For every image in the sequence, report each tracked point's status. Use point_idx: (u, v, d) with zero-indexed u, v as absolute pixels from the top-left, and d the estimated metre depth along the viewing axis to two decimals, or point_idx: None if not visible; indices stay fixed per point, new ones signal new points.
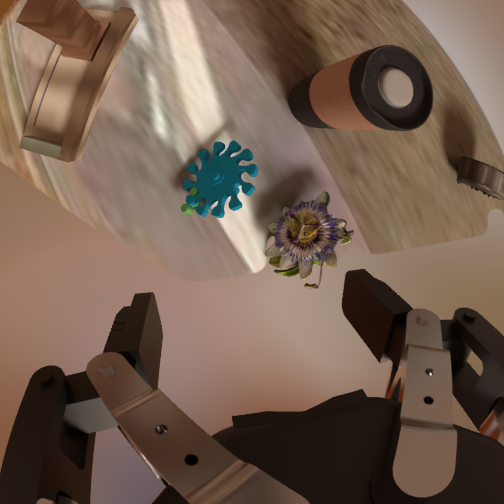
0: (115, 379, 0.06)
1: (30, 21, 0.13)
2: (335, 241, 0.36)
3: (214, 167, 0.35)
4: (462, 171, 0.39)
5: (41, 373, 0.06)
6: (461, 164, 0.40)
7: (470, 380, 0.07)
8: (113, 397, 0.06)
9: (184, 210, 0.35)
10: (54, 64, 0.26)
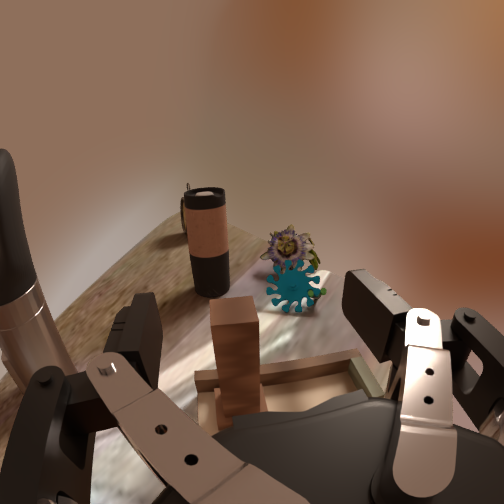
0: (116, 379, 0.06)
1: (254, 307, 0.25)
2: (281, 232, 0.65)
3: (289, 291, 0.52)
4: None
5: (41, 373, 0.06)
6: None
7: (470, 380, 0.07)
8: (113, 397, 0.06)
9: (324, 289, 0.51)
10: None
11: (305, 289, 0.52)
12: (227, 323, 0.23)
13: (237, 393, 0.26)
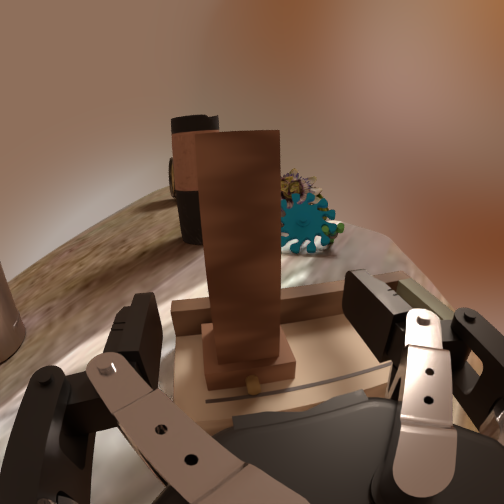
0: (116, 379, 0.06)
1: None
2: (283, 177, 0.55)
3: (298, 227, 0.42)
4: None
5: (41, 373, 0.06)
6: None
7: (470, 380, 0.07)
8: (113, 397, 0.06)
9: (342, 224, 0.41)
10: (319, 385, 0.17)
11: (318, 224, 0.42)
12: (223, 132, 0.12)
13: (239, 303, 0.16)
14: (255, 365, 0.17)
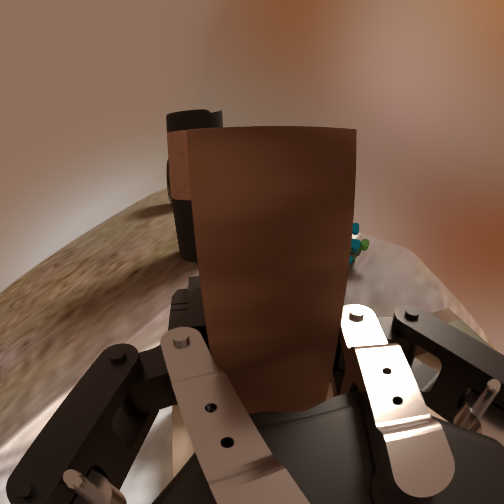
0: (186, 353, 0.07)
1: None
2: None
3: None
4: None
5: (114, 349, 0.07)
6: None
7: (424, 375, 0.08)
8: (197, 366, 0.07)
9: (366, 240, 0.35)
10: None
11: None
12: None
13: (267, 408, 0.09)
14: None
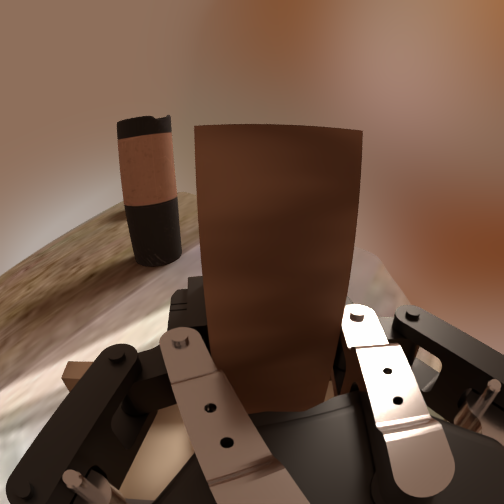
0: (185, 353, 0.07)
1: None
2: None
3: None
4: None
5: (113, 350, 0.07)
6: None
7: (425, 375, 0.08)
8: (196, 366, 0.07)
9: None
10: None
11: None
12: (256, 124, 0.06)
13: (265, 408, 0.09)
14: None
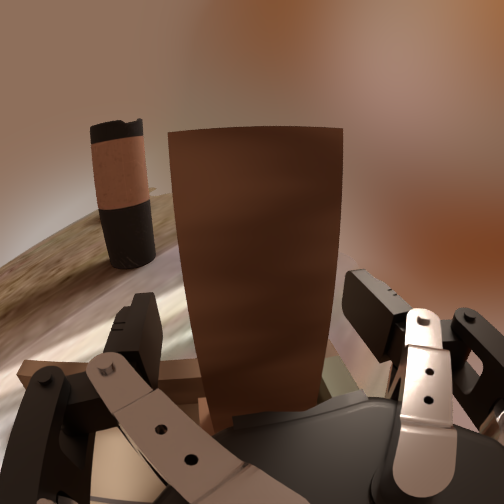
0: (115, 379, 0.06)
1: None
2: None
3: None
4: None
5: (41, 373, 0.06)
6: None
7: (470, 380, 0.07)
8: (113, 397, 0.06)
9: None
10: None
11: None
12: (230, 127, 0.06)
13: (256, 411, 0.09)
14: None
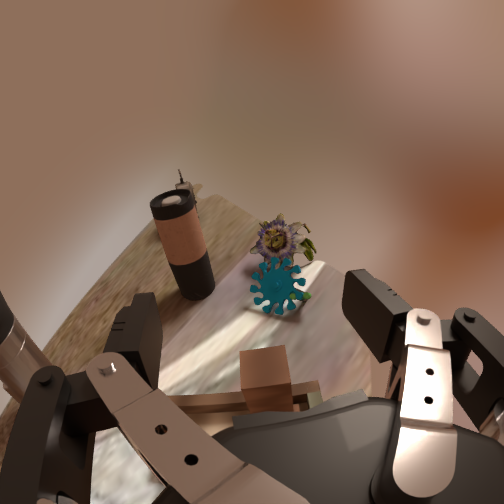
0: (116, 379, 0.06)
1: (287, 362, 0.22)
2: (270, 223, 0.60)
3: (271, 291, 0.50)
4: None
5: (40, 373, 0.06)
6: None
7: (470, 380, 0.07)
8: (113, 397, 0.06)
9: (307, 293, 0.47)
10: None
11: (287, 291, 0.49)
12: (257, 385, 0.21)
13: None
14: None
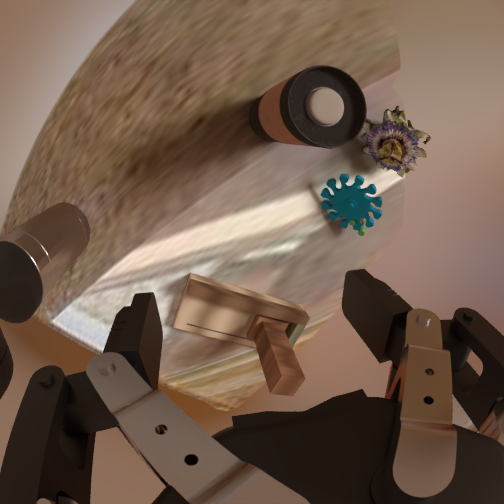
0: (115, 379, 0.06)
1: (299, 386, 0.38)
2: (405, 127, 0.35)
3: (342, 203, 0.43)
4: None
5: (41, 373, 0.06)
6: None
7: (470, 380, 0.07)
8: (113, 397, 0.06)
9: (363, 233, 0.45)
10: (225, 334, 0.50)
11: (353, 217, 0.44)
12: (278, 393, 0.38)
13: None
14: None
